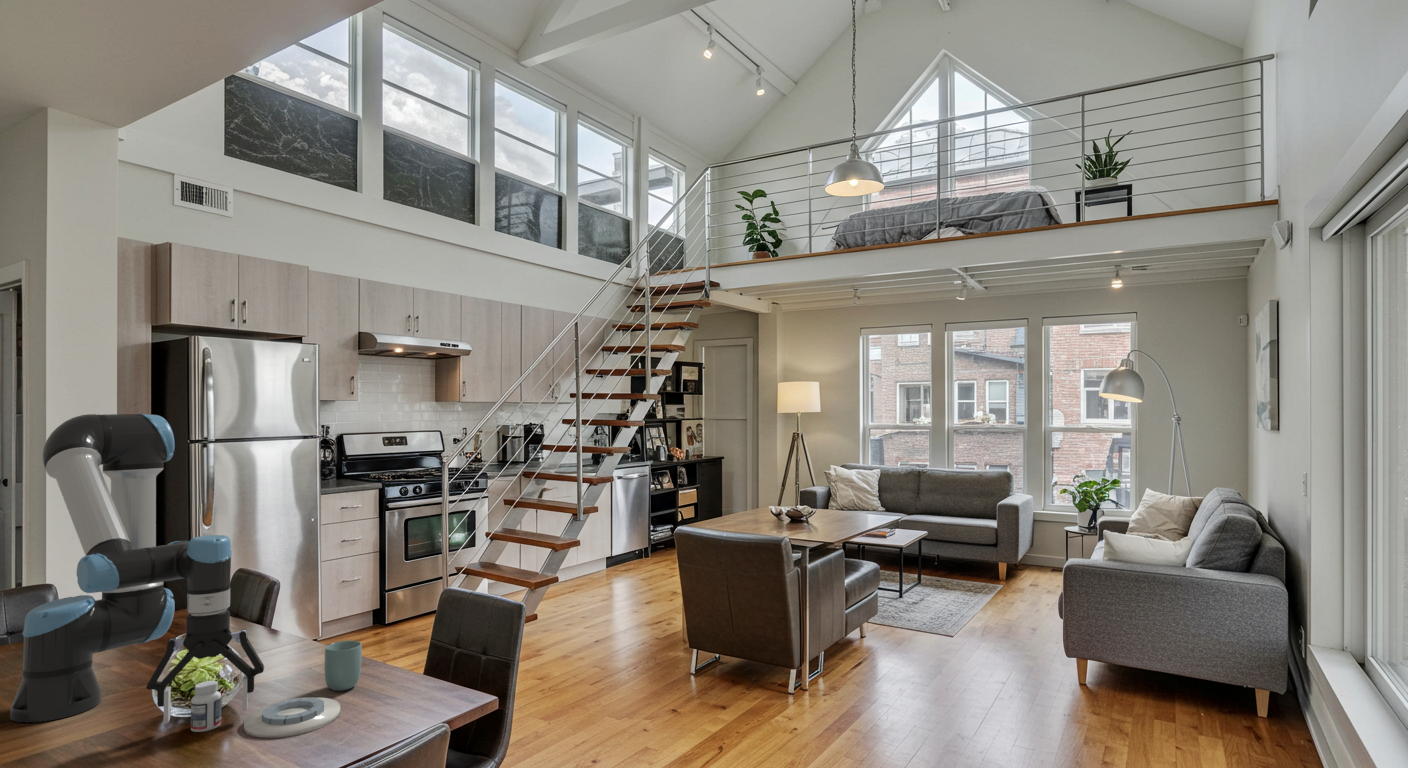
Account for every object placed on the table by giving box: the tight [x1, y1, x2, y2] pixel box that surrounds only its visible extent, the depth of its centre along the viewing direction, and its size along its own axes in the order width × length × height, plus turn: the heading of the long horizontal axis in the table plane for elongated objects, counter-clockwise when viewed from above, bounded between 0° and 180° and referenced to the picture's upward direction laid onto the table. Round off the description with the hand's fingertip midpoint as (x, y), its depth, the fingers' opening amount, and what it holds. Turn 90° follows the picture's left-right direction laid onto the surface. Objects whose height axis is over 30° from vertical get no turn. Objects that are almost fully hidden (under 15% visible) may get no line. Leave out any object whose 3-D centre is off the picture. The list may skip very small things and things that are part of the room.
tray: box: [243, 696, 341, 739], centre depth 159 cm, size 18×18×2 cm
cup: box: [323, 640, 363, 692], centre depth 177 cm, size 8×8×10 cm
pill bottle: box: [190, 680, 222, 733], centre depth 155 cm, size 5×5×9 cm
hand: (206, 715), depth 155 cm, fingers open, 13 cm apart
